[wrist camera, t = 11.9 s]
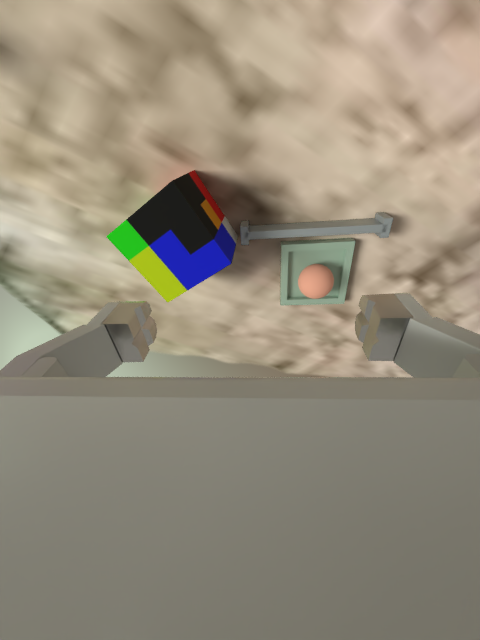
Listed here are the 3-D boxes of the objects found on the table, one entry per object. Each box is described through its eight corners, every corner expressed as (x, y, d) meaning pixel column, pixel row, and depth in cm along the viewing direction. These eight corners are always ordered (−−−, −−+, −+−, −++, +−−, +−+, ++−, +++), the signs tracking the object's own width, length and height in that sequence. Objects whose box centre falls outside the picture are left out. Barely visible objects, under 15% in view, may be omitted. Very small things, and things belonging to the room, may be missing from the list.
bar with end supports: (241, 221, 36) (240, 227, 34) (383, 212, 34) (393, 217, 32) (242, 238, 37) (241, 245, 35) (379, 230, 35) (388, 237, 33)
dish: (280, 241, 37) (281, 245, 36) (352, 237, 36) (355, 241, 35) (279, 300, 43) (280, 305, 42) (341, 298, 42) (344, 303, 41)
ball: (297, 258, 38) (300, 273, 34) (332, 257, 37) (339, 273, 33) (296, 288, 41) (298, 305, 37) (328, 287, 40) (334, 305, 36)
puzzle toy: (238, 236, 37) (231, 263, 29) (186, 269, 41) (167, 302, 33) (194, 170, 33) (172, 180, 25) (140, 214, 37) (106, 236, 28)
